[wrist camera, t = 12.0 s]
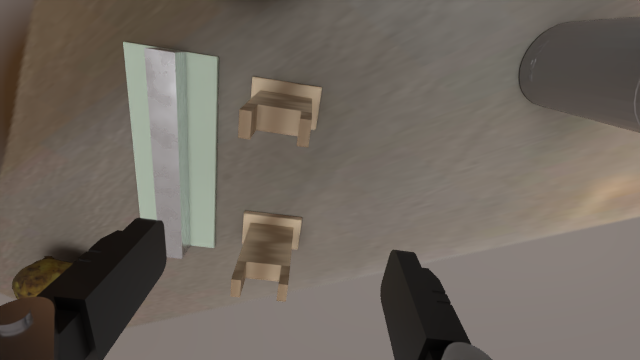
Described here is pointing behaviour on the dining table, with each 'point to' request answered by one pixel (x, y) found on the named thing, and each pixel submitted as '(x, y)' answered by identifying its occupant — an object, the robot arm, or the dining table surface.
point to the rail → (169, 144)
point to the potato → (37, 276)
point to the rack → (264, 228)
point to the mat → (199, 138)
